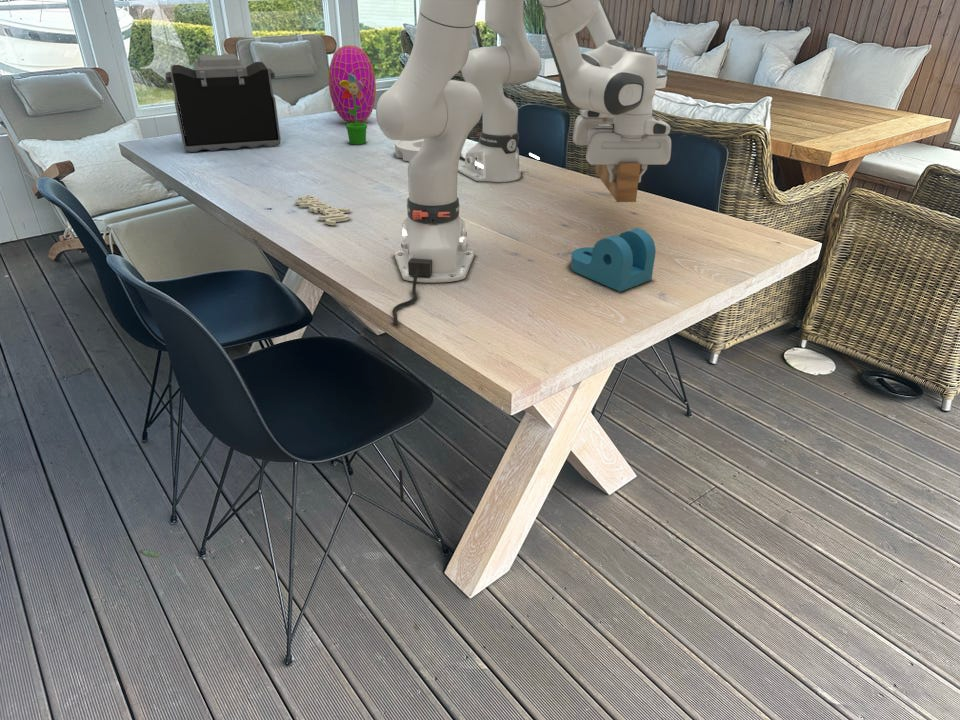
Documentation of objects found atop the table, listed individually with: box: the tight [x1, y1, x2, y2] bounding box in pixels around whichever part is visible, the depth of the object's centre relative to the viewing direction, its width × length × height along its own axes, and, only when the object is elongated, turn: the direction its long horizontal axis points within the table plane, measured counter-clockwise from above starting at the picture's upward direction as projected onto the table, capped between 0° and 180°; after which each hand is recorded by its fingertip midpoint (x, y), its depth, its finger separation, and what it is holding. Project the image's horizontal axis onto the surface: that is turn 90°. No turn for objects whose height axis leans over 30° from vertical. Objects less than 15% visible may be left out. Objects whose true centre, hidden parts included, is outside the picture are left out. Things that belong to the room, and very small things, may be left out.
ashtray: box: [394, 139, 424, 163], centre depth 246 cm, size 23×23×4 cm
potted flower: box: [339, 73, 368, 145], centre depth 255 cm, size 9×8×25 cm
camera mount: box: [570, 227, 656, 293], centre depth 154 cm, size 18×10×10 cm, turn 39°
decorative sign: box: [295, 194, 351, 226], centre depth 192 cm, size 26×1×10 cm
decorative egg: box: [328, 44, 377, 124], centre depth 286 cm, size 19×19×30 cm
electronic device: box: [164, 53, 282, 153], centre depth 252 cm, size 37×22×30 cm, turn 111°
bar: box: [595, 162, 641, 203], centre depth 178 cm, size 27×5×9 cm, turn 3°
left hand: (624, 182), depth 170 cm, fingers closed on bar, 5 cm apart
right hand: (608, 161), depth 187 cm, fingers closed on bar, 5 cm apart
